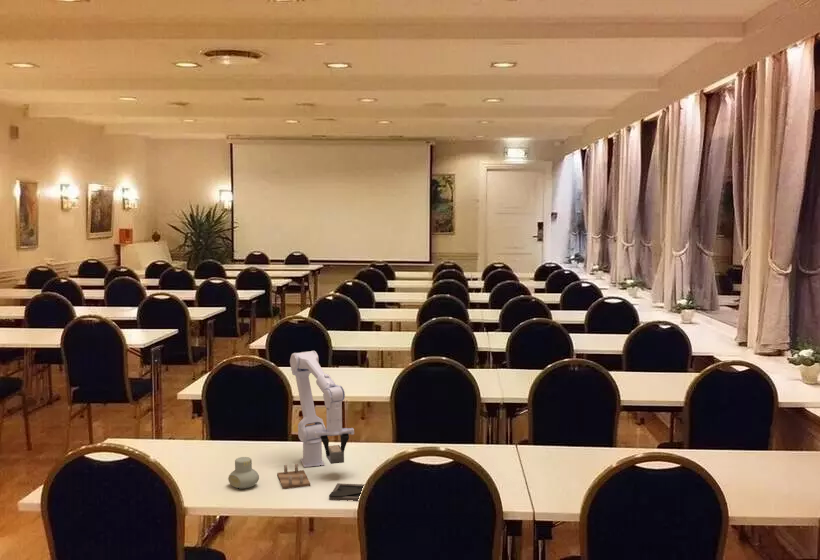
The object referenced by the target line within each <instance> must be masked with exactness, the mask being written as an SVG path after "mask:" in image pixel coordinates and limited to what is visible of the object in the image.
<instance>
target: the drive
mask: <svg viewBox="0 0 820 560" xmlns="http://www.w3.org/2000/svg"><path fill="white" fill-rule="evenodd" d="M328 449H329V456H327V455H326V454H325V457H326V459H327V461H328V462H329V464H330V465H334V464H335V465H336V464H343V463H345V450H344V451H343V450H342V448H341V445H340V444H336V445H335V444H333V445H329V446H328Z"/></svg>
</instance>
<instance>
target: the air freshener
mask: <svg viewBox="0 0 820 560" xmlns="http://www.w3.org/2000/svg"><path fill="white" fill-rule="evenodd" d="M252 465H253V464H252V458H251V457H250V456H249V457H248V456H240V457H238V458H235V460H234V470H232V471H231V472H230V474H229V475H228V478H227V480H228V483H229V484H230V485H231V486H232V487H234V488H235V489H238V488H239V489H238V490H240V489H241V490H242V489H249V488H252V487H253V486H255V485H256V484H257V483H258V482H259V479H260V475H259V473H258V472H257V471H256V470H255V469H253V466H252Z"/></svg>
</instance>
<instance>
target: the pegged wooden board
mask: <svg viewBox="0 0 820 560" xmlns="http://www.w3.org/2000/svg"><path fill="white" fill-rule="evenodd" d="M277 478H278V481H279V483H280V485H281V488H282V490H287V489H288V490H289V489H297V488H306V487H311V482H310V479H309V478H308V476H307V474H306V471H305V470H304V469H302V470H299V463H294V470H292V471H288V464H284V465H283V471H282V472H281V471H280V472H277Z"/></svg>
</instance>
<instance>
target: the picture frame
mask: <svg viewBox="0 0 820 560" xmlns="http://www.w3.org/2000/svg"><path fill="white" fill-rule="evenodd" d="M364 485H365V484H363V483H362V484H359V483H339V482H338V483H337V484H335V487H334V488H333V490H332V491H331V492H330V494H329V495H328V500H329V501H340V500H347V501H346V502H349V501H348V500H353V501H352V502H359V501H358V499H359V496H360V494H361V491H362V488H363V486H364Z"/></svg>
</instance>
